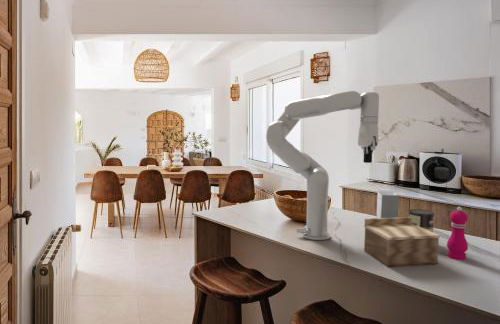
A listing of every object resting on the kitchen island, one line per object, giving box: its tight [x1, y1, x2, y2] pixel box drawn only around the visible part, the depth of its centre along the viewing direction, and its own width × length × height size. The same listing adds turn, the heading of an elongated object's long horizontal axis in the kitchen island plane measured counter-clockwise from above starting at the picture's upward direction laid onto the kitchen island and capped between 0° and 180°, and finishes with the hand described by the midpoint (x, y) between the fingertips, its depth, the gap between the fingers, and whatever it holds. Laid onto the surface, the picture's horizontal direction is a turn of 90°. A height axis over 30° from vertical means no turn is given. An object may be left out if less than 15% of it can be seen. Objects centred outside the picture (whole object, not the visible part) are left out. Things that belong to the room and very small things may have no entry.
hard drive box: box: [376, 189, 400, 218], centre depth 180 cm, size 16×8×20 cm, turn 168°
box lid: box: [363, 216, 441, 240], centre depth 146 cm, size 20×18×4 cm
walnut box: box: [363, 227, 440, 268], centre depth 147 cm, size 20×18×10 cm
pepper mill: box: [446, 206, 469, 260], centre depth 147 cm, size 7×7×20 cm
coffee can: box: [408, 208, 435, 233], centre depth 166 cm, size 10×10×14 cm
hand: (367, 162), depth 167 cm, fingers closed
